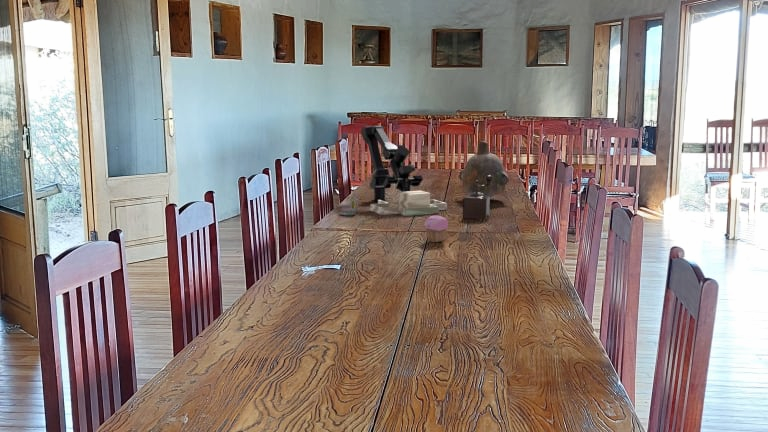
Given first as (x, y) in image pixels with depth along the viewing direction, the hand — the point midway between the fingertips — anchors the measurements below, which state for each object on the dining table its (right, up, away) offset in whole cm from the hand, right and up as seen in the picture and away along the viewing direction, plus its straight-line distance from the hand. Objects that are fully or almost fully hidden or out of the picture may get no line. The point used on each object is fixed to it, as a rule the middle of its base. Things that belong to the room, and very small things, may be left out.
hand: (409, 195), depth 353 cm
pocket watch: (-27, -9, -12) cm, 31 cm away
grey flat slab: (-1, -6, +2) cm, 7 cm away
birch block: (+2, -7, -3) cm, 8 cm away
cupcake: (+8, -19, -65) cm, 68 cm away
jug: (+38, -2, +31) cm, 49 cm away
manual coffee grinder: (+30, -10, -12) cm, 34 cm away
